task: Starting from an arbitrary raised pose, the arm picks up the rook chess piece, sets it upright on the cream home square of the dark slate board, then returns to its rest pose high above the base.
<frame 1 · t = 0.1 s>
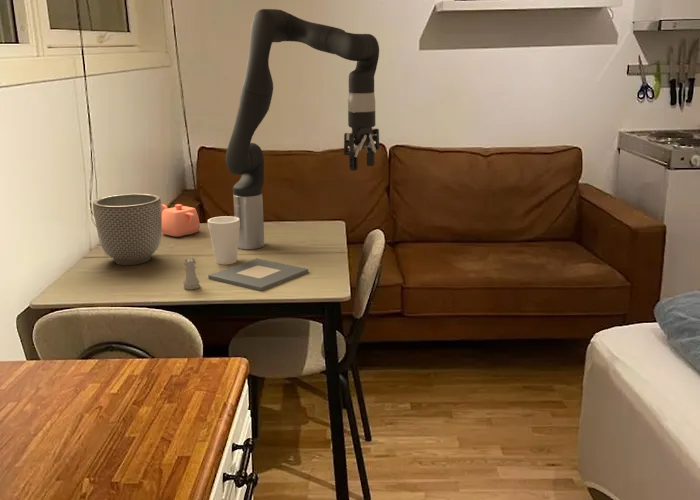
hand: (362, 168, 205), 29 cm above the table, fingers open, 8 cm apart
board: (258, 275, 208), on the table
rook chess piece: (191, 288, 198), on the table
teapot: (179, 234, 256), on the table
foam cup: (226, 262, 222), on the table
planter: (133, 261, 224), on the table
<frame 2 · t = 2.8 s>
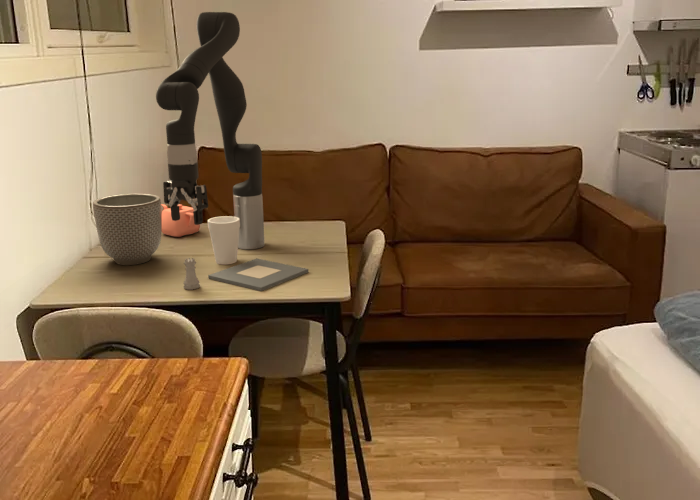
hand: (187, 222, 193), 18 cm above the table, fingers open, 8 cm apart
nothing on the table moved.
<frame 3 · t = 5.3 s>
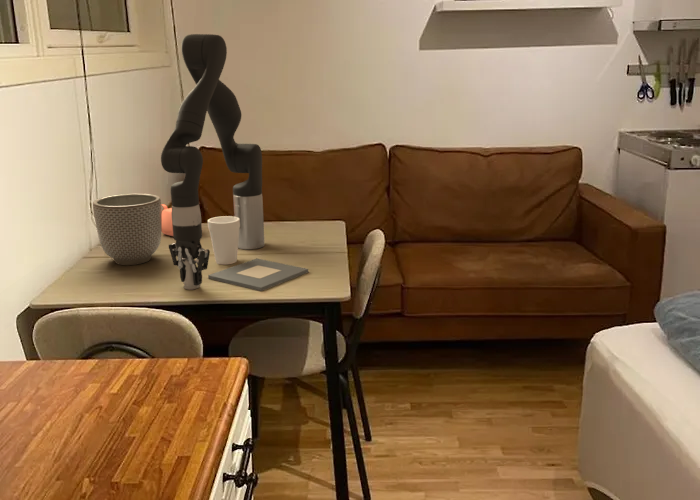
hand: (191, 282, 198), 1 cm above the table, fingers closed on rook chess piece, 4 cm apart
rook chess piece: (191, 288, 198), on the table, touching gripper
everything else where it was.
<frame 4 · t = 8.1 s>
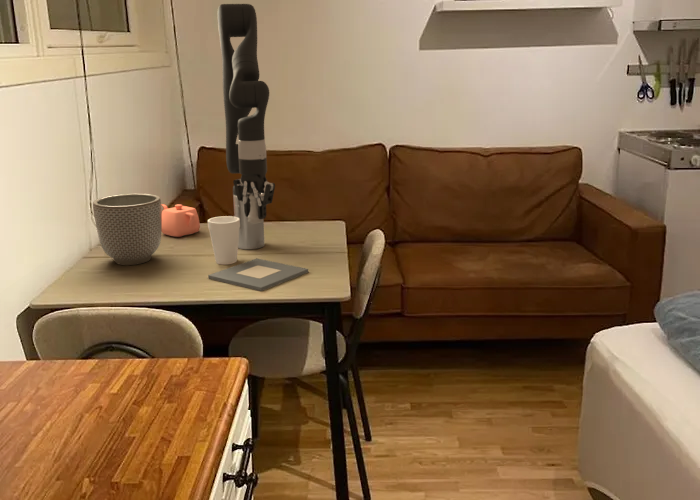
hand: (255, 217, 203), 17 cm above the table, fingers closed on rook chess piece, 4 cm apart
rook chess piece: (255, 222, 203), point 15 cm above the table, touching gripper
everything else where it was.
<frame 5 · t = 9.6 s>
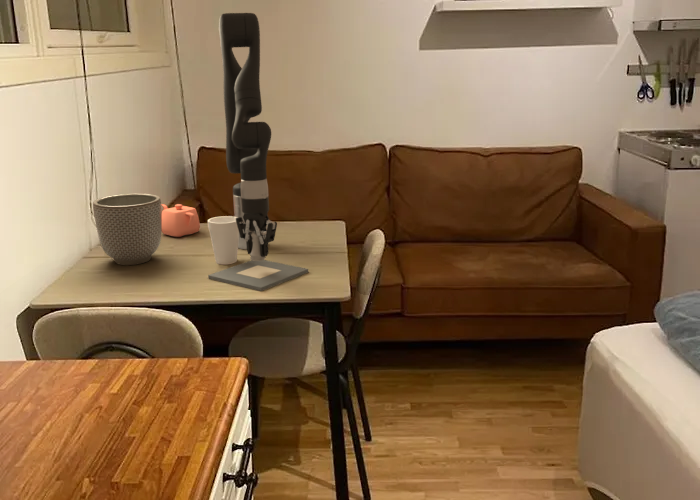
hand: (257, 254, 206), 6 cm above the table, fingers closed on rook chess piece, 4 cm apart
rook chess piece: (257, 259, 206), point 5 cm above the table, touching gripper
everything else where it was.
when the fingers open (4 cm above the table, at t = 10.9 s): rook chess piece drops 1 cm, resting on board.
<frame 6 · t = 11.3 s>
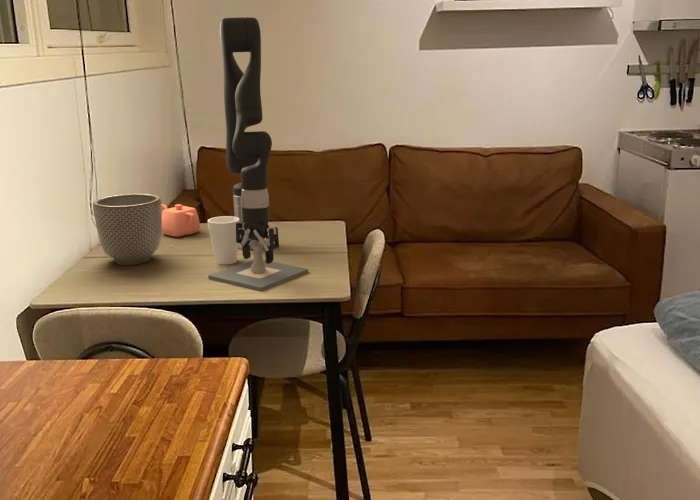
hand: (258, 260, 206), 4 cm above the table, fingers open, 8 cm apart
rook chess piece: (258, 272, 207), point 1 cm above the table, touching board
everything else where it was.
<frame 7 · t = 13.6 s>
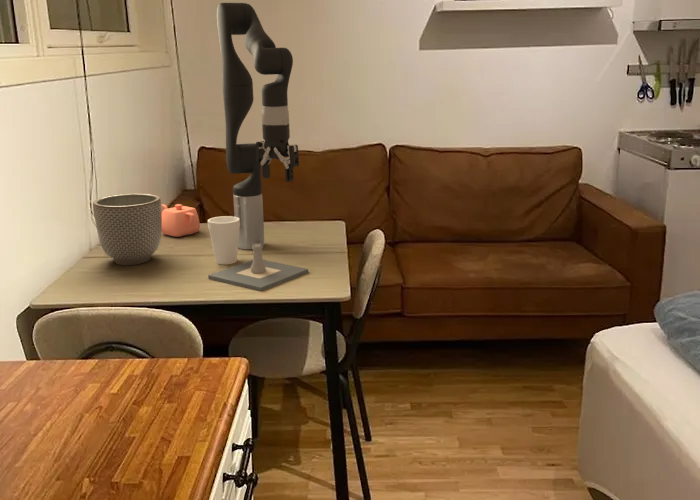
hand: (277, 179, 207), 26 cm above the table, fingers open, 8 cm apart
nothing on the table moved.
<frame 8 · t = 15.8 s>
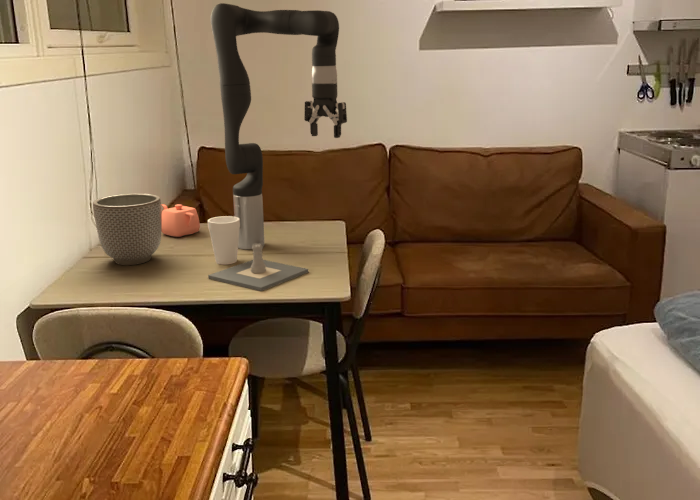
hand: (325, 136, 220), 36 cm above the table, fingers open, 8 cm apart
nothing on the table moved.
at the end: rook chess piece inside the target area on the board (0.1 cm from its centre), point 0.9 cm above the board's base; rook chess piece tilted 0°; the gripper is holding nothing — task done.
